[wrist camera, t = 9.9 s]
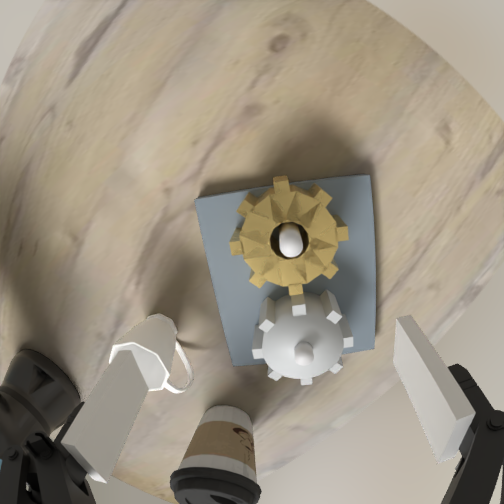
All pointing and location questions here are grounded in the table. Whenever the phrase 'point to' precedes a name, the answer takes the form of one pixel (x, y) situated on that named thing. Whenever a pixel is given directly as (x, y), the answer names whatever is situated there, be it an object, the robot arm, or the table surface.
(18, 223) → the table surface
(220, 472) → the coffee cup
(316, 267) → the brass gear
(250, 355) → the gear board
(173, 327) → the cup
